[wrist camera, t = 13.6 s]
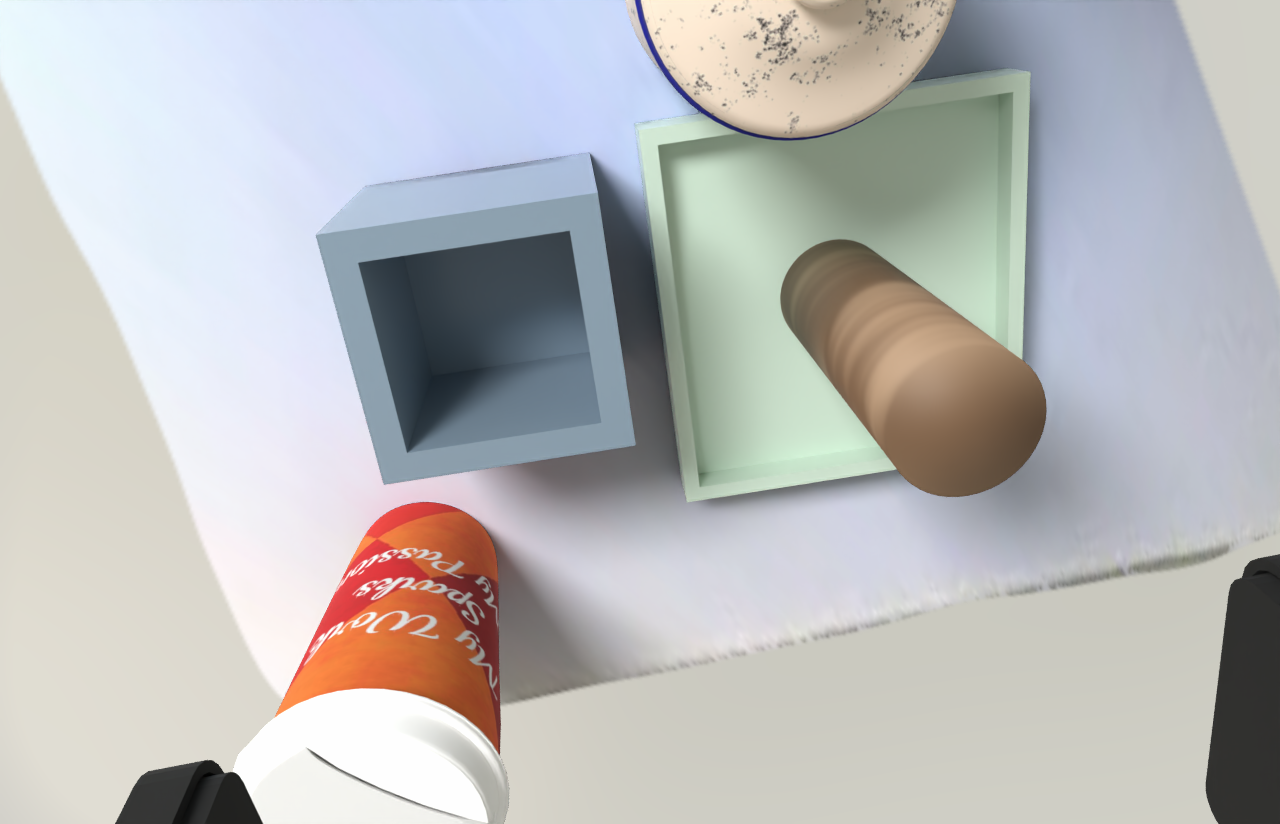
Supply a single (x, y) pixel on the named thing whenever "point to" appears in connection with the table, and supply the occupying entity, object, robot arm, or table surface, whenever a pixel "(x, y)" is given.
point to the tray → (801, 218)
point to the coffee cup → (394, 688)
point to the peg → (914, 370)
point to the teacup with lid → (790, 58)
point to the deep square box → (480, 318)
